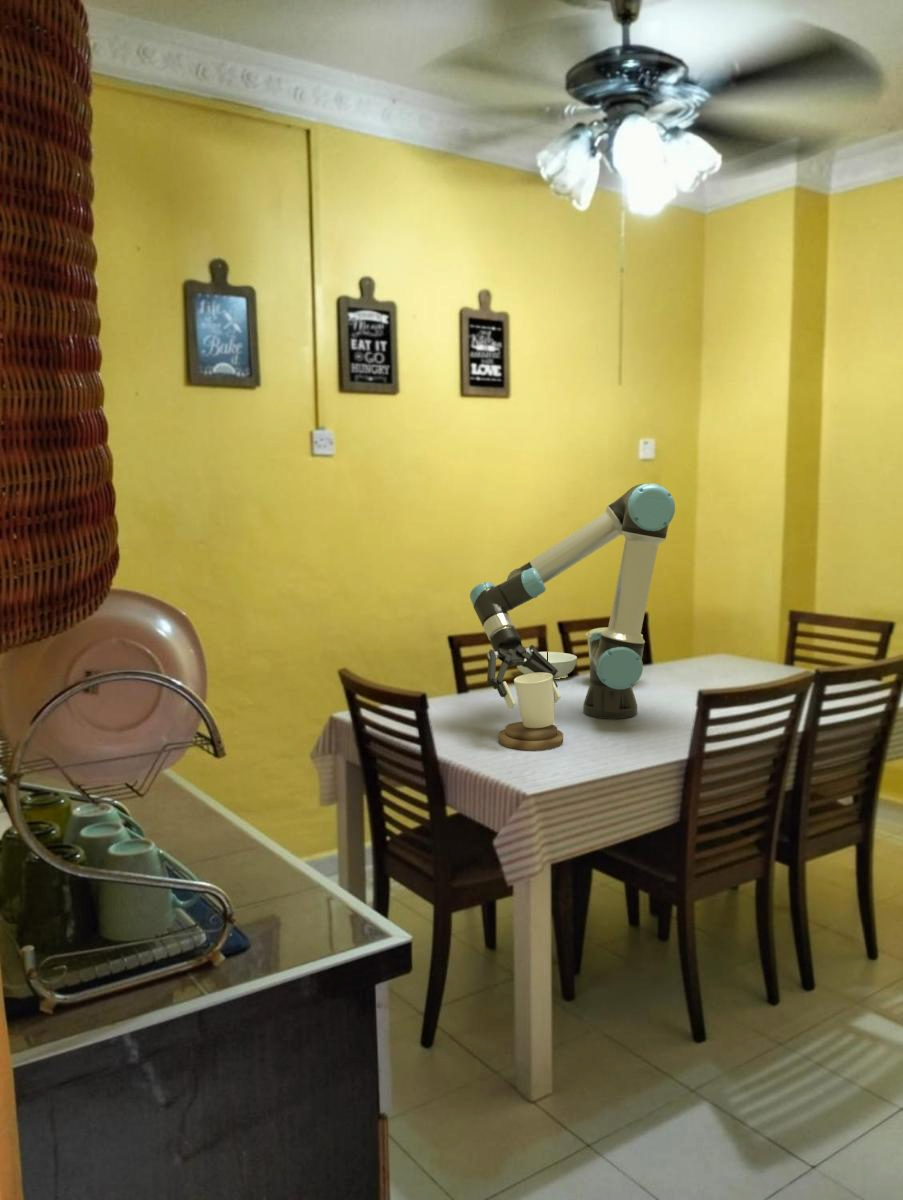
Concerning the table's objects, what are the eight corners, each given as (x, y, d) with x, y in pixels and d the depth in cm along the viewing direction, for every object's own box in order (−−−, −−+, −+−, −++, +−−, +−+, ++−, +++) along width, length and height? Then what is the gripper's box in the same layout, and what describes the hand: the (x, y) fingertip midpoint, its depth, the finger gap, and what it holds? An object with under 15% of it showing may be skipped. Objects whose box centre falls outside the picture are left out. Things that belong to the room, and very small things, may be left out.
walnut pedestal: (569, 736, 237) (569, 722, 236) (554, 753, 222) (554, 739, 221) (509, 730, 242) (509, 717, 242) (490, 746, 227) (490, 733, 227)
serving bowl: (579, 671, 318) (579, 652, 317) (573, 684, 298) (573, 663, 297) (519, 669, 323) (519, 649, 322) (509, 681, 303) (509, 661, 302)
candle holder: (561, 726, 229) (555, 679, 227) (522, 731, 229) (515, 685, 227) (555, 715, 239) (549, 670, 237) (518, 720, 239) (511, 675, 237)
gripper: (536, 639, 249) (569, 705, 238) (456, 648, 237) (487, 717, 226) (547, 622, 244) (582, 688, 233) (466, 630, 232) (498, 700, 220)
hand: (535, 703), depth 229 cm, fingers open, 13 cm apart
